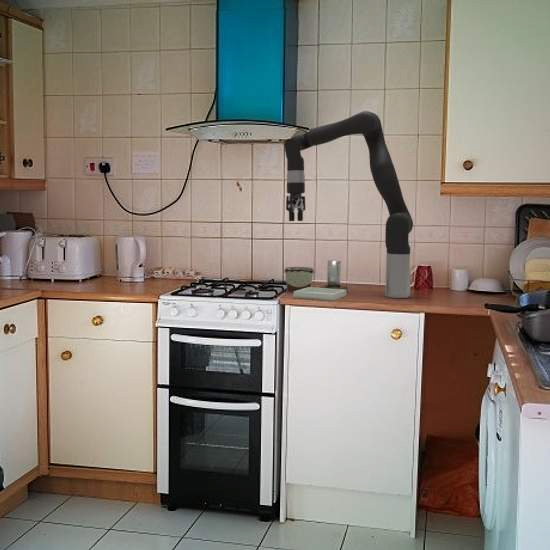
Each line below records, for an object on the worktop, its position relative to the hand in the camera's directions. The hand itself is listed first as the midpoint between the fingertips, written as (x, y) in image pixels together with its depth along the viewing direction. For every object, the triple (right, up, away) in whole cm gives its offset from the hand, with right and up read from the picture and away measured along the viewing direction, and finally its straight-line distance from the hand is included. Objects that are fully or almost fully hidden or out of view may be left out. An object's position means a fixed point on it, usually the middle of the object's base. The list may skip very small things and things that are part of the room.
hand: (296, 221), depth 318 cm
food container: (+1, -30, -5) cm, 30 cm away
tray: (+9, -31, -20) cm, 38 cm away
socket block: (+15, -30, -6) cm, 34 cm away
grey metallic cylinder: (+15, -30, -6) cm, 34 cm away
